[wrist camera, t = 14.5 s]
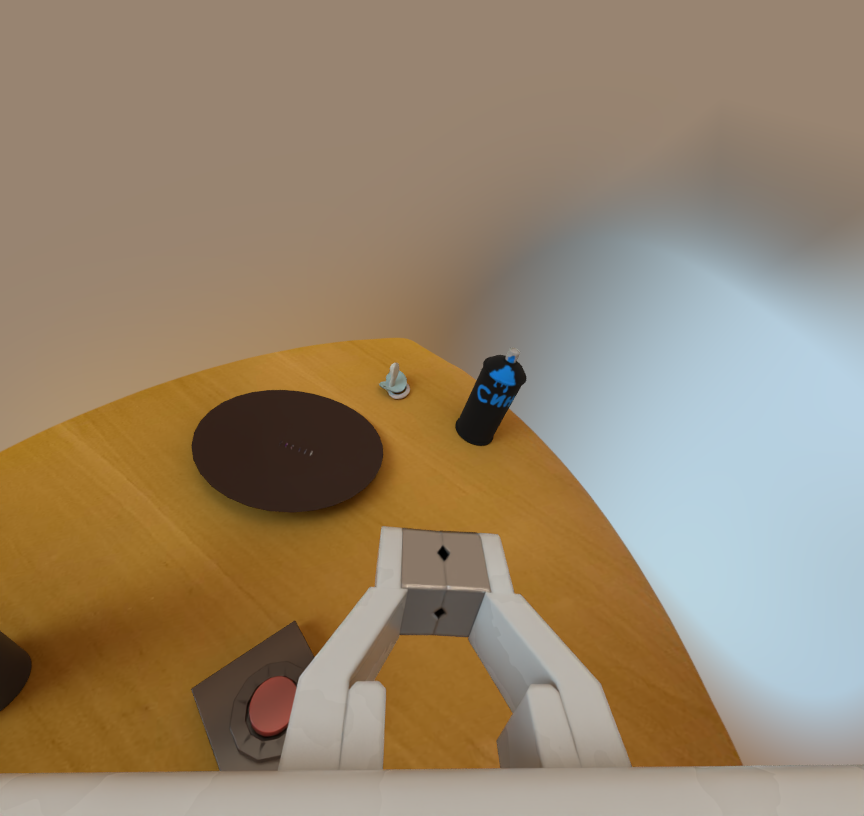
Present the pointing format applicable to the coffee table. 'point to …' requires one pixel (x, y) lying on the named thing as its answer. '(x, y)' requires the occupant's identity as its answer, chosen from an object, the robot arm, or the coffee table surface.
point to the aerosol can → (491, 398)
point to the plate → (286, 450)
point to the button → (272, 706)
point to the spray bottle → (12, 670)
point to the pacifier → (395, 382)
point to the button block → (231, 695)
